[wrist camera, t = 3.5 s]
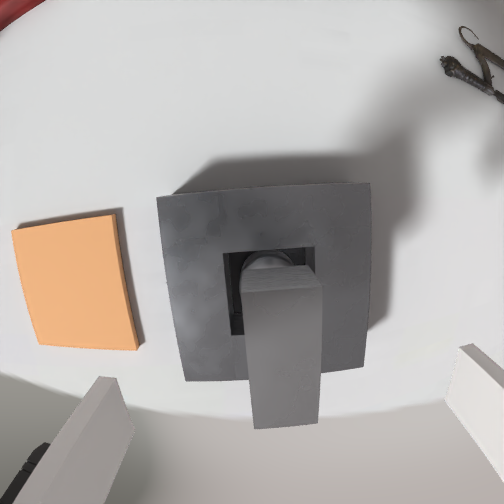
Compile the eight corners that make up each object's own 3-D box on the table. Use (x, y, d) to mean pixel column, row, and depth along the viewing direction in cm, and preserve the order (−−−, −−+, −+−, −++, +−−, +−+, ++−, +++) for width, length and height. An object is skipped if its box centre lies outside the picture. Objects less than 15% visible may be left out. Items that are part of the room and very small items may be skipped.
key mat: (16, 229, 24) (11, 230, 23) (115, 214, 24) (111, 215, 23) (42, 341, 26) (38, 344, 26) (139, 346, 26) (136, 350, 25)
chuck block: (171, 194, 23) (156, 197, 19) (351, 182, 23) (369, 183, 19) (193, 355, 26) (185, 381, 22) (349, 343, 26) (363, 366, 22)
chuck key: (236, 234, 24) (221, 293, 11) (293, 230, 24) (340, 284, 11) (244, 317, 26) (239, 429, 13) (297, 313, 25) (332, 421, 13)
